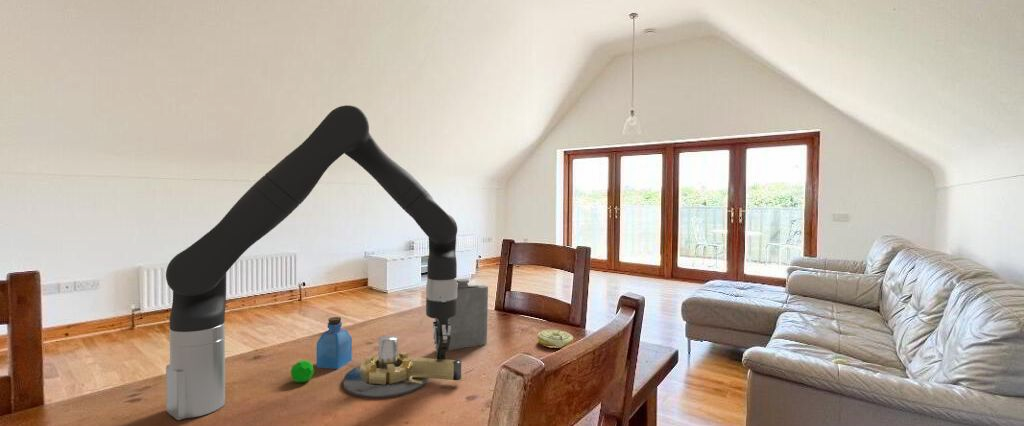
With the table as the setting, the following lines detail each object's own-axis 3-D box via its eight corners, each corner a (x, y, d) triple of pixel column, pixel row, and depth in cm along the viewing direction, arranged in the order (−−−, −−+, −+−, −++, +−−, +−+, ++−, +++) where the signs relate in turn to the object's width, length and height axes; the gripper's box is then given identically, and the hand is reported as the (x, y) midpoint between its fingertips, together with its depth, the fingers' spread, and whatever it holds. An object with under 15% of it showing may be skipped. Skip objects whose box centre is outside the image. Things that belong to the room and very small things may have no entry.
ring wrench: (352, 381, 102) (352, 364, 102) (374, 362, 114) (375, 347, 114) (454, 389, 99) (455, 372, 99) (466, 369, 111) (467, 353, 111)
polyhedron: (307, 375, 109) (307, 356, 109) (317, 381, 106) (317, 361, 106) (286, 381, 105) (287, 361, 105) (296, 387, 102) (296, 367, 102)
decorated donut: (563, 353, 128) (563, 341, 128) (531, 346, 134) (531, 333, 134) (578, 344, 137) (578, 331, 137) (547, 337, 143) (548, 325, 143)
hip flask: (439, 352, 127) (440, 283, 126) (434, 348, 130) (435, 280, 129) (488, 344, 135) (490, 278, 134) (482, 340, 138) (483, 276, 137)
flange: (380, 407, 94) (381, 359, 93) (326, 382, 105) (326, 339, 105) (446, 376, 110) (447, 336, 110) (393, 358, 122) (393, 321, 121)
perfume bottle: (338, 369, 113) (338, 322, 113) (316, 366, 115) (316, 320, 114) (351, 360, 119) (351, 316, 119) (330, 358, 121) (331, 314, 120)
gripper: (423, 290, 113) (423, 357, 114) (429, 303, 101) (428, 378, 102) (452, 289, 116) (452, 354, 117) (462, 301, 103) (461, 375, 104)
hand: (441, 365), depth 109 cm, fingers closed
